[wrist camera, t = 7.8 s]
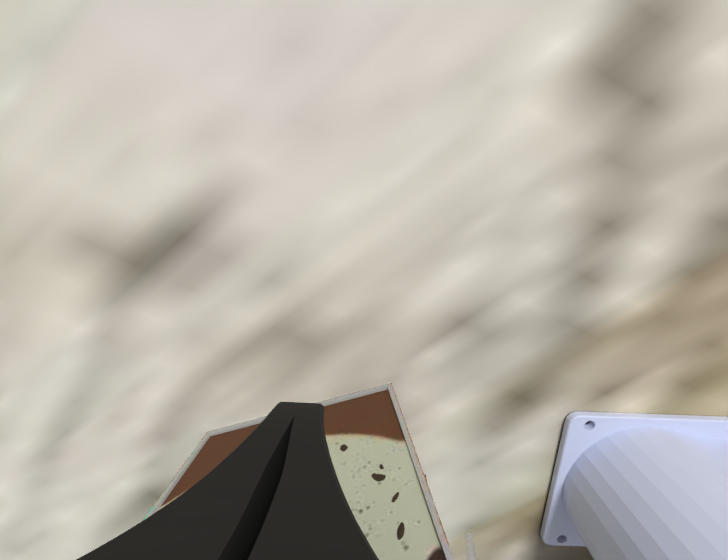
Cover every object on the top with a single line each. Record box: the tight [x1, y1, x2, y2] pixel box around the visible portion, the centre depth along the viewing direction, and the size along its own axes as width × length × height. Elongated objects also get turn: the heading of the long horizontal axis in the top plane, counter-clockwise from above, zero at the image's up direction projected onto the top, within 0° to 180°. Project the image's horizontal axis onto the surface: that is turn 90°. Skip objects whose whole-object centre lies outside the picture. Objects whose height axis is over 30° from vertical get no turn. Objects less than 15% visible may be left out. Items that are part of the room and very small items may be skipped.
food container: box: [143, 383, 476, 560], centre depth 13 cm, size 12×6×10 cm, turn 106°
